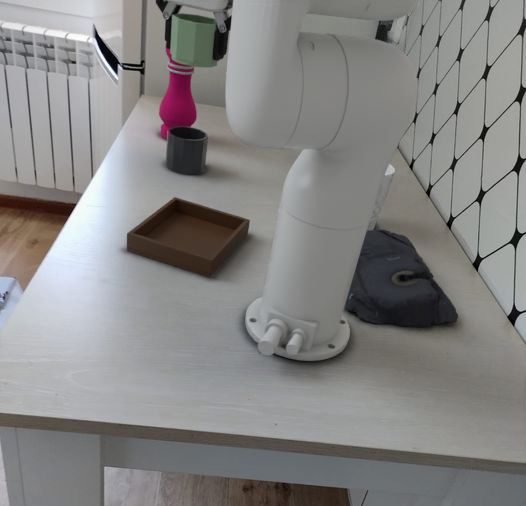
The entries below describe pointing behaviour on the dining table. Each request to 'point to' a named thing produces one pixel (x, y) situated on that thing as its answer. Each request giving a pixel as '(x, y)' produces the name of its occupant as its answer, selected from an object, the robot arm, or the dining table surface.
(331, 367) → the dining table surface
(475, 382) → the dining table surface
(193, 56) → the top tub
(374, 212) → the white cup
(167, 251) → the tray
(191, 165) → the dark grey tub
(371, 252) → the dark slate chunk
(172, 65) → the pepper mill
